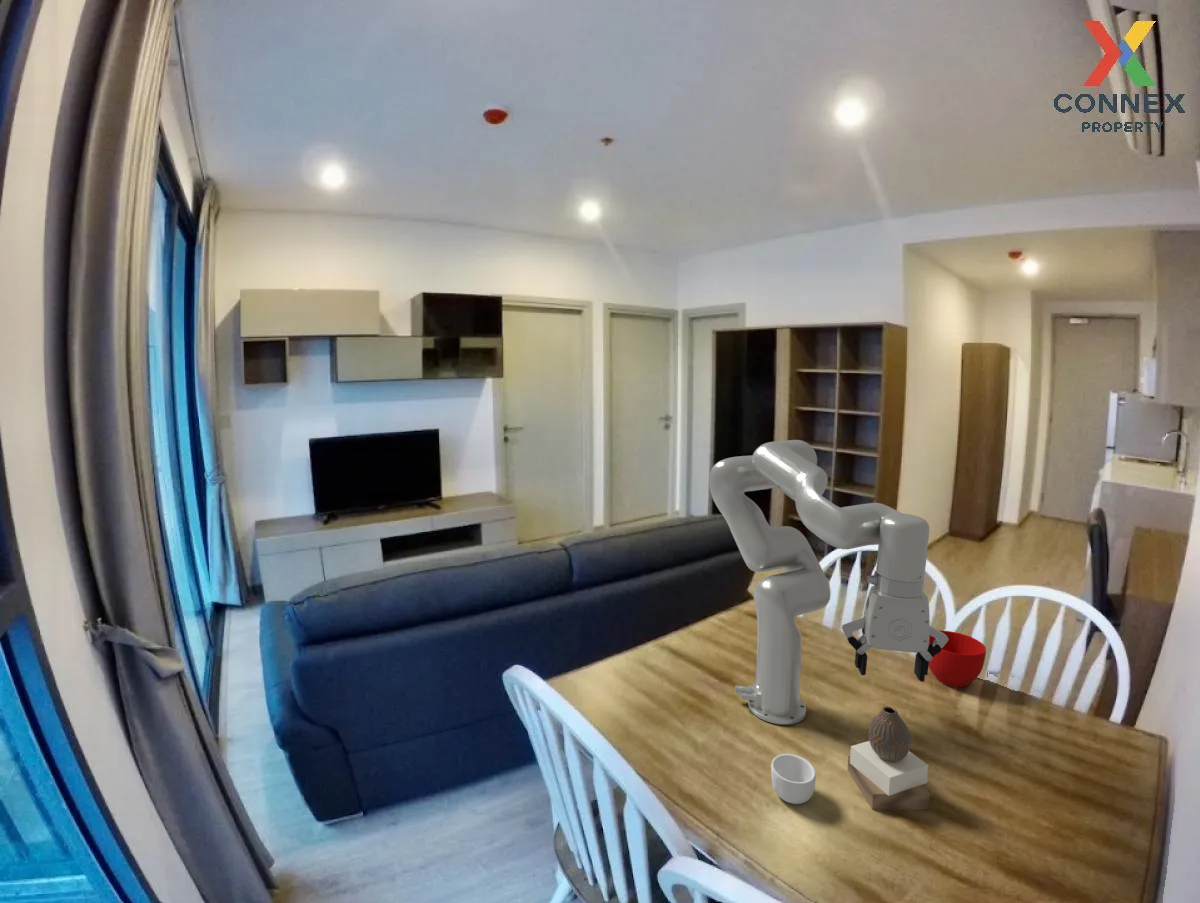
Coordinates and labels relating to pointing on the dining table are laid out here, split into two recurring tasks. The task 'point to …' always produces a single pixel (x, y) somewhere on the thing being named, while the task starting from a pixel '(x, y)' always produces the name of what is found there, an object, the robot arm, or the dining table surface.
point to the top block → (889, 769)
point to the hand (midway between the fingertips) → (889, 674)
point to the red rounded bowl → (958, 660)
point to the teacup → (793, 778)
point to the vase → (889, 735)
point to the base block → (880, 800)
